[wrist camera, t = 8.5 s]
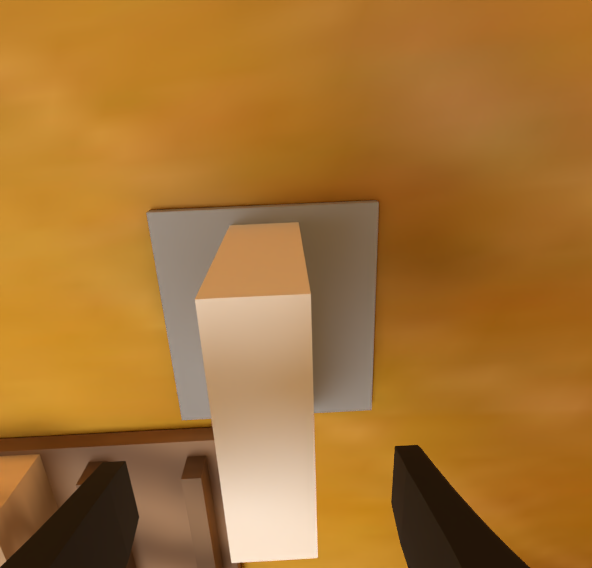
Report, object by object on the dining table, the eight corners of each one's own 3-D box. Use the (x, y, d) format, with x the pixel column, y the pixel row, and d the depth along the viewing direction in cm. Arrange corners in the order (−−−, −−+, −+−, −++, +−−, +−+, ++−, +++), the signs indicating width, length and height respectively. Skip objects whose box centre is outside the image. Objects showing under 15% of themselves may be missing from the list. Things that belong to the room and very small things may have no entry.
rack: (247, 612, 29) (244, 656, 26) (41, 625, 29) (20, 670, 26) (223, 426, 23) (216, 461, 21) (-37, 440, 23) (-73, 477, 20)
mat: (369, 404, 23) (371, 410, 22) (184, 413, 22) (182, 420, 22) (376, 200, 19) (379, 202, 18) (149, 210, 18) (146, 212, 18)
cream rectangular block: (305, 409, 22) (317, 558, 15) (248, 412, 22) (231, 563, 14) (298, 221, 18) (310, 293, 11) (229, 225, 18) (194, 299, 11)
